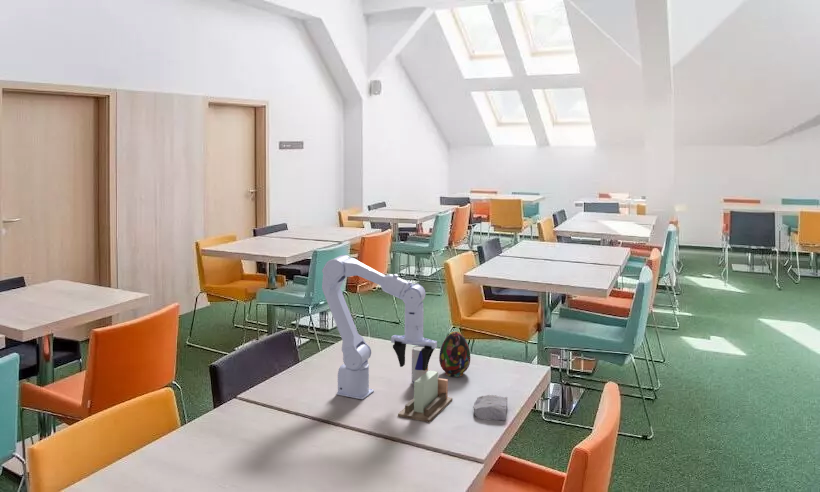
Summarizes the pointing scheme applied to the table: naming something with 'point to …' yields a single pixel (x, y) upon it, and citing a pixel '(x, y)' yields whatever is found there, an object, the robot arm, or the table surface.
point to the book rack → (433, 408)
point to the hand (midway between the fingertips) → (413, 367)
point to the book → (425, 390)
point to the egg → (454, 355)
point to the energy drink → (417, 363)
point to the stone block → (491, 407)
